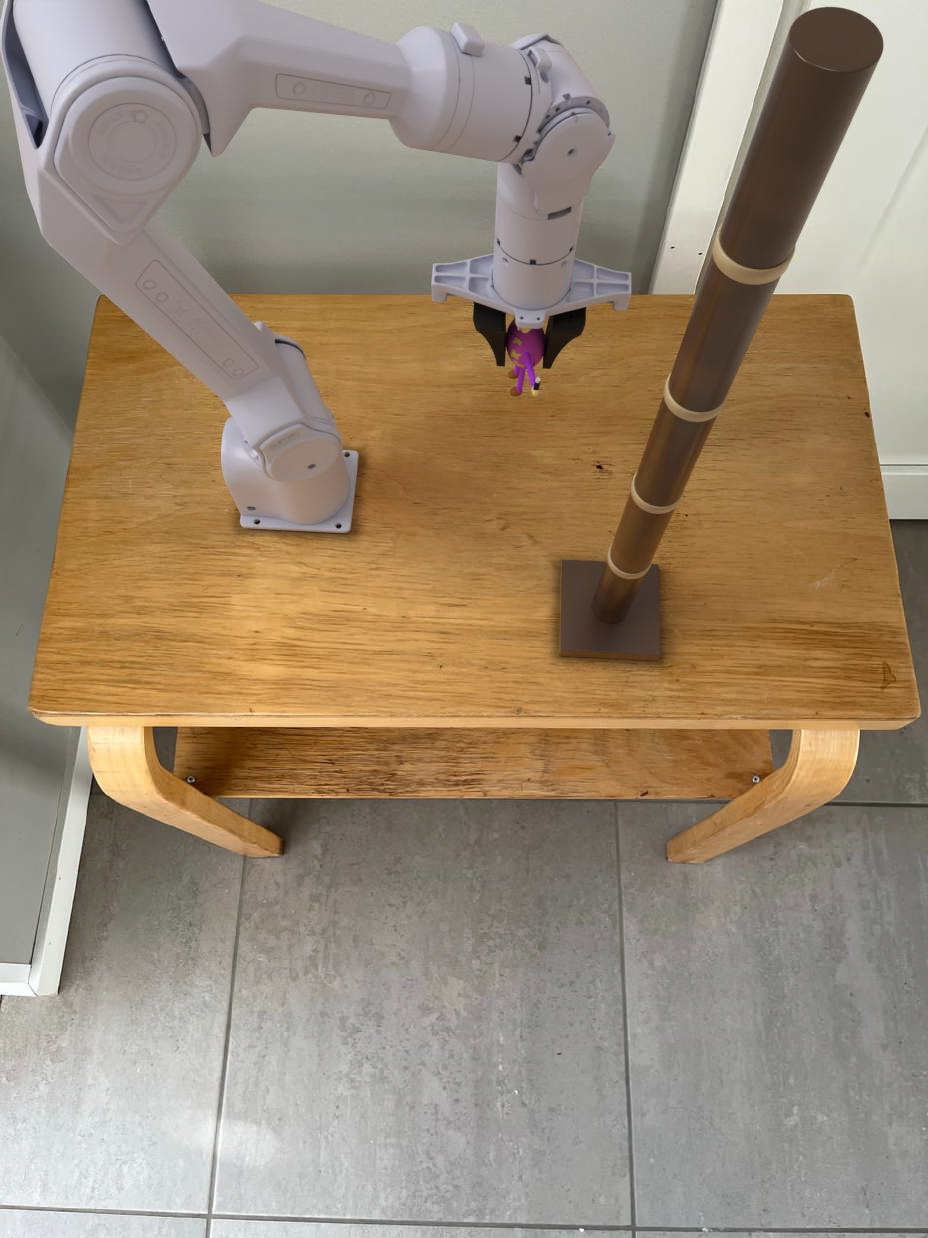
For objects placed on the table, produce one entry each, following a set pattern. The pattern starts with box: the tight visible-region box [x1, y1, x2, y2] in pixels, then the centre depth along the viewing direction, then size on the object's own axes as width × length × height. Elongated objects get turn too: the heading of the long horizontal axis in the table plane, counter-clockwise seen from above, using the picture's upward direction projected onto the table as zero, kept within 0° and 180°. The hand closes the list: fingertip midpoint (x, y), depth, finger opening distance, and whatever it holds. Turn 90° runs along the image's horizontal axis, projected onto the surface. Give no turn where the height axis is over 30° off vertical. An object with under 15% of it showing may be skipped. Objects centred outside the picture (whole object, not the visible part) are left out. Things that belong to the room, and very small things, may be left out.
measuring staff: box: [558, 6, 885, 662], centre depth 52 cm, size 8×8×50 cm
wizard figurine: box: [506, 317, 546, 398], centre depth 73 cm, size 11×3×12 cm, turn 9°
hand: (523, 357), depth 75 cm, fingers closed on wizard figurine, 3 cm apart
